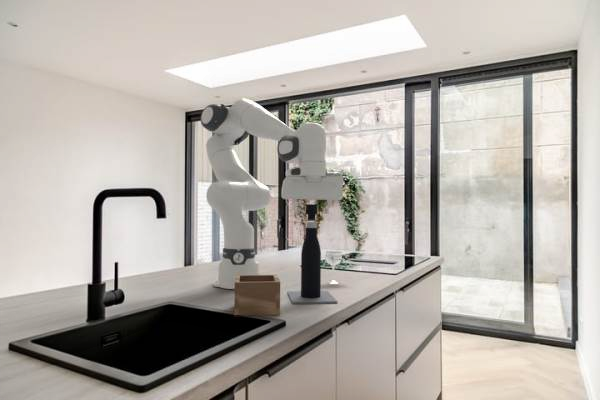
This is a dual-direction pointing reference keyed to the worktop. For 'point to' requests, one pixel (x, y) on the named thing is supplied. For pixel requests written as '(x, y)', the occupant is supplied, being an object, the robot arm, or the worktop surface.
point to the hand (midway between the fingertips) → (311, 213)
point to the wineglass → (333, 261)
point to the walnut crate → (257, 295)
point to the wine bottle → (311, 258)
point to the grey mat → (323, 299)
